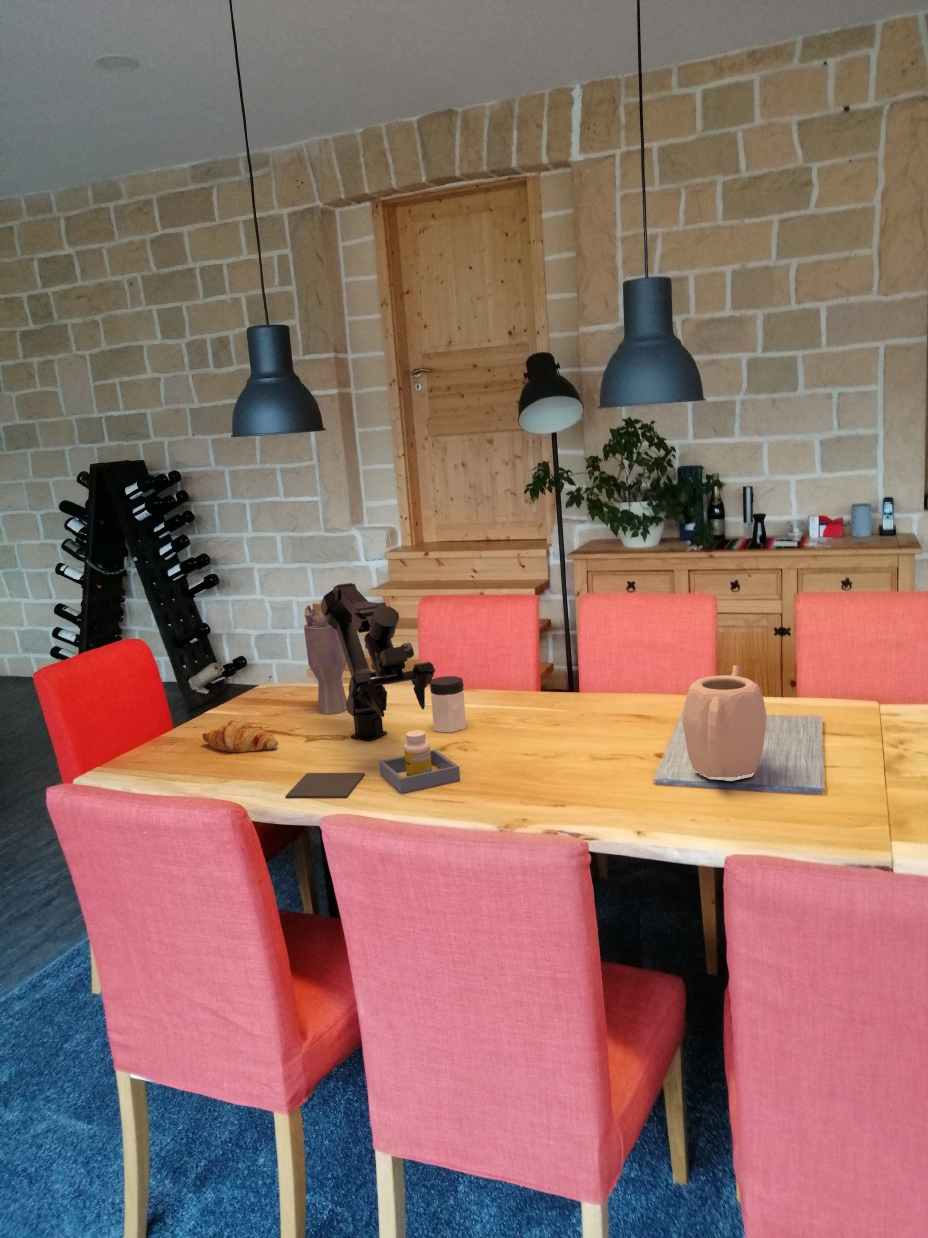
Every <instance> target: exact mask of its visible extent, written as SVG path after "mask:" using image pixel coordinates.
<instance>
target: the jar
mask: <svg viewBox="0 0 928 1238" xmlns="http://www.w3.org/2000/svg"><path fill="white" fill-rule="evenodd" d="M464 684H465V683H464V680H463V678H462V677H460V676H454V675H449V676H446V675H445V676H439V677H435V678H432V681H431V683H430V684H429V689H430V695H431V696H430V698H431V708H432V709H431V710H432V722H433V724H432V725H433V732H436V731H437V733H449V734H450V733H451V734H452V733H455V732H459V731H463V730H466V729H467V721H466V708H465V707H466V706H465V695H464V694H465V693H464V692H465V691H464Z"/></svg>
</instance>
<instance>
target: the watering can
mask: <svg viewBox="0 0 928 1238" xmlns="http://www.w3.org/2000/svg"><path fill="white" fill-rule="evenodd" d="M740 667H741V666H740V665H732V672H731V674H729V675H725V674H724V675H711V676H705V677H700V678H699V679H697V680H695V681H694V682H692V683H691V684H690V686H689V688H688V690H687V694H686V698H685V700H684V707H683V715H682V726H683V733H684V738H685V744H686V749H687V750H686V751H687V754H688V757H689V761H690V764H691V767H692V770H693V769H694V770H695V771H697V772H699V773H700V774H703V775H705V776H707V777H738V776H743V775H748V774H752V773H755V774H756V772H757V770H758V768H757V767H759V764H760V761H761V757H762V754H763V751H764V750H763V749H764V743H765V736H766V735H765V734H766V729H767V711H766V705H765V704H766V703H765V700H764V697H763V694H762V691H761V688H760V686H759V684H757V682H754V681H753V680H751V679H749V678H747V677H742V676H739V672H740V671H739V670H740ZM694 770H693V771H694Z"/></svg>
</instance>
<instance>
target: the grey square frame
mask: <svg viewBox="0 0 928 1238" xmlns="http://www.w3.org/2000/svg"><path fill="white" fill-rule="evenodd" d="M430 755H431V766H433V765H435V766H436V767H437V768H438V769H436V770H432V771H430V772H426V773H421V774H417V775H412V776H408V777H407V776H404V777H402V776H401V775H400V774H399V773H401V772H402V773H403V772H406V763H405V755H403V756H399V757H394V758H390V759H389V758H388V759H384V760H379V761H378V763H379V775H380V776H381V777H382V778H383V779H385V781H386V782H387V783H388V784H390V785H391V786H392V787H393V788H394V789H395V790H396V791H397V792H399V793H400V794H401V795H402V794H407V793H410V792H411V793H412V792H415V791H419V790H424V789H429V788H433V787H438V786H442V785H446V784H451V783H455V782H459V781H461V771H460V770H461V769H460V766H459V765H457V764H456V763H455V762H454V761H452V760H451V759H450V758H448V757H447V756H445V755H444V754H442V753H441V752H440V751H438V750H437V749H432V750H431V749H430ZM437 785H438V786H437Z"/></svg>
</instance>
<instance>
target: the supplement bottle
mask: <svg viewBox="0 0 928 1238" xmlns="http://www.w3.org/2000/svg"><path fill="white" fill-rule="evenodd" d="M405 738H406V743H405V744H404V747H403V751H404V756H405V763H406V771H405V772H406V777H408V776H412V775H417V774H421V773H426V772H430V771H433V767H432V766H433V765H431V755H430V751H431V745H430V743H429V742H428V741H426V732H425V731H424V730H420V729H419V730H417V729H416V730H410V731H408V732H407V733H406V735H405Z"/></svg>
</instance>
